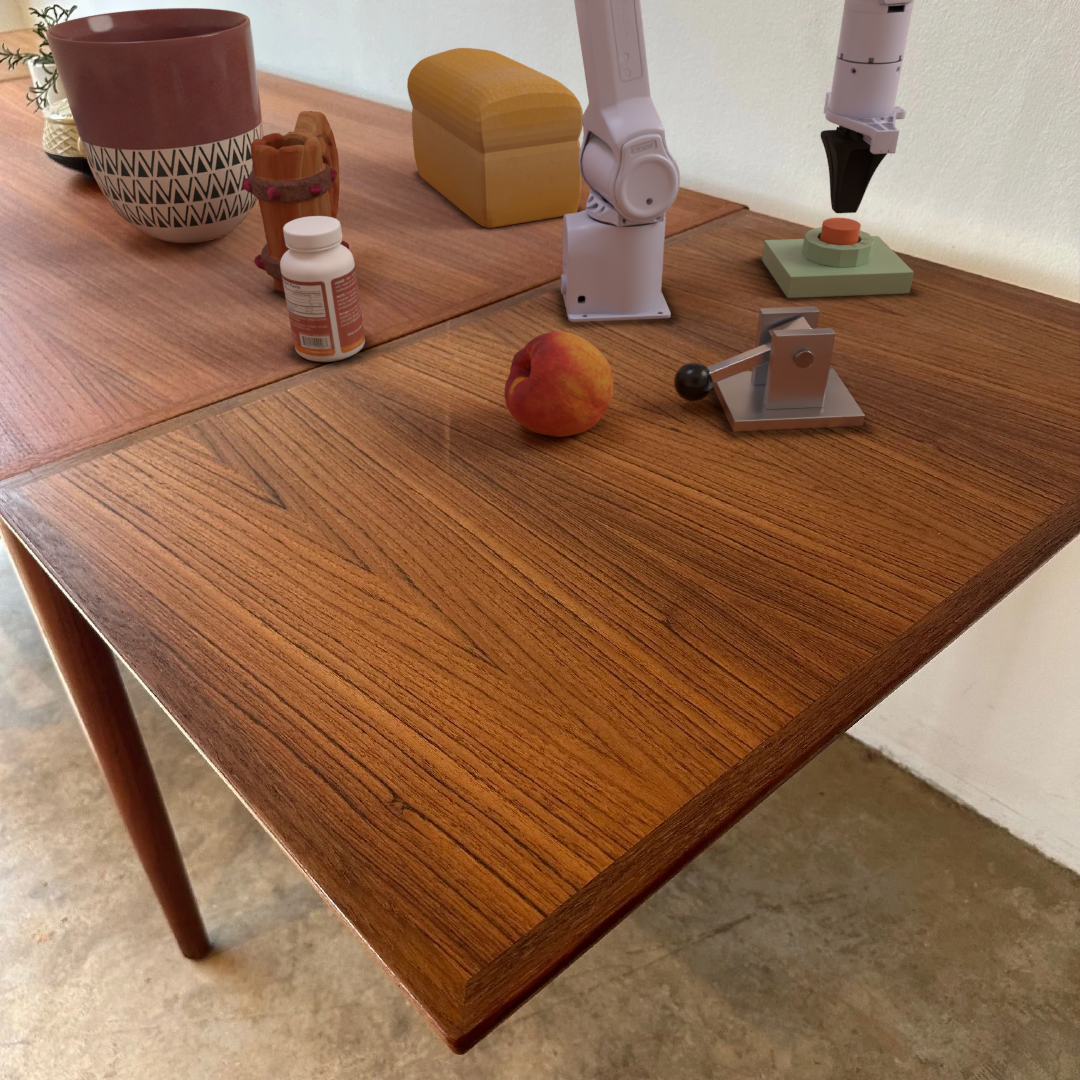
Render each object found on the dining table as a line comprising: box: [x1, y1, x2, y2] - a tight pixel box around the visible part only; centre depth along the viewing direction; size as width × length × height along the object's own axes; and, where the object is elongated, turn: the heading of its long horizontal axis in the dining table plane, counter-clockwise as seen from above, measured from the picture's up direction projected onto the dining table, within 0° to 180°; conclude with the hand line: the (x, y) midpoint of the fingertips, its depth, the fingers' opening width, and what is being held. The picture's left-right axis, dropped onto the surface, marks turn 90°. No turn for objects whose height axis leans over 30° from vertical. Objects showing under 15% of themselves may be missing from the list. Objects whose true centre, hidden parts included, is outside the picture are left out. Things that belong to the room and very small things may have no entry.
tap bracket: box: [712, 305, 866, 433], centre depth 77 cm, size 10×8×7 cm
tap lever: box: [673, 317, 812, 402], centre depth 77 cm, size 11×3×3 cm, turn 94°
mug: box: [242, 110, 350, 294], centre depth 98 cm, size 15×8×15 cm, turn 168°
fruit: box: [503, 331, 615, 438], centre depth 75 cm, size 8×8×8 cm
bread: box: [406, 47, 584, 229], centre depth 120 cm, size 24×13×15 cm, turn 24°
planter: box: [45, 7, 265, 244], centre depth 107 cm, size 20×20×21 cm
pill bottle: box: [280, 216, 366, 363], centre depth 86 cm, size 6×6×11 cm
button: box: [820, 217, 862, 245], centre depth 98 cm, size 4×4×2 cm
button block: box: [761, 226, 915, 299], centre depth 100 cm, size 12×10×4 cm
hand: (844, 210), depth 97 cm, fingers closed
